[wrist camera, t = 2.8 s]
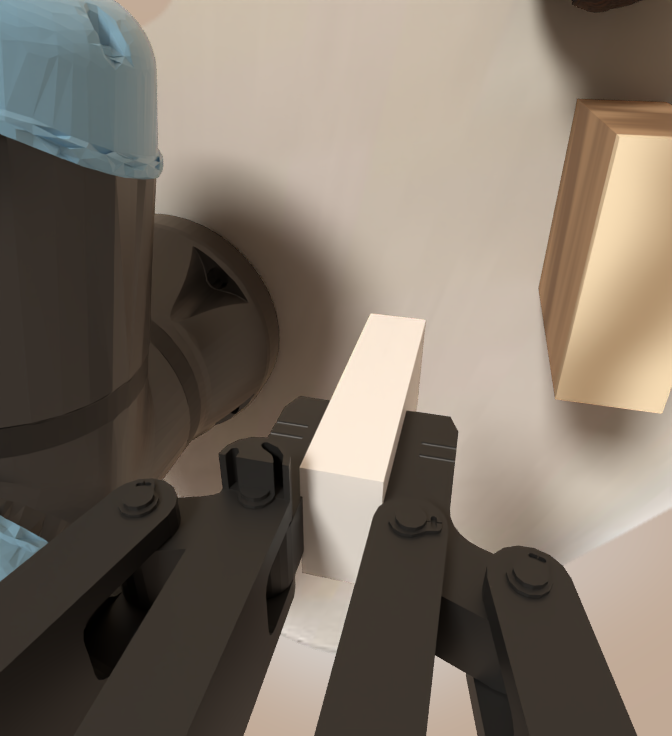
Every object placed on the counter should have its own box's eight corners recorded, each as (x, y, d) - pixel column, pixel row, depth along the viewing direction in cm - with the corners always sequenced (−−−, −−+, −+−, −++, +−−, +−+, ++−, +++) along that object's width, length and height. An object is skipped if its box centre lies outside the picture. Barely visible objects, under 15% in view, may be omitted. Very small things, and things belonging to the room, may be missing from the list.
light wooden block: (538, 288, 33) (555, 399, 23) (577, 98, 28) (619, 137, 18) (612, 295, 33) (662, 413, 23) (665, 102, 28) (760, 143, 18)
